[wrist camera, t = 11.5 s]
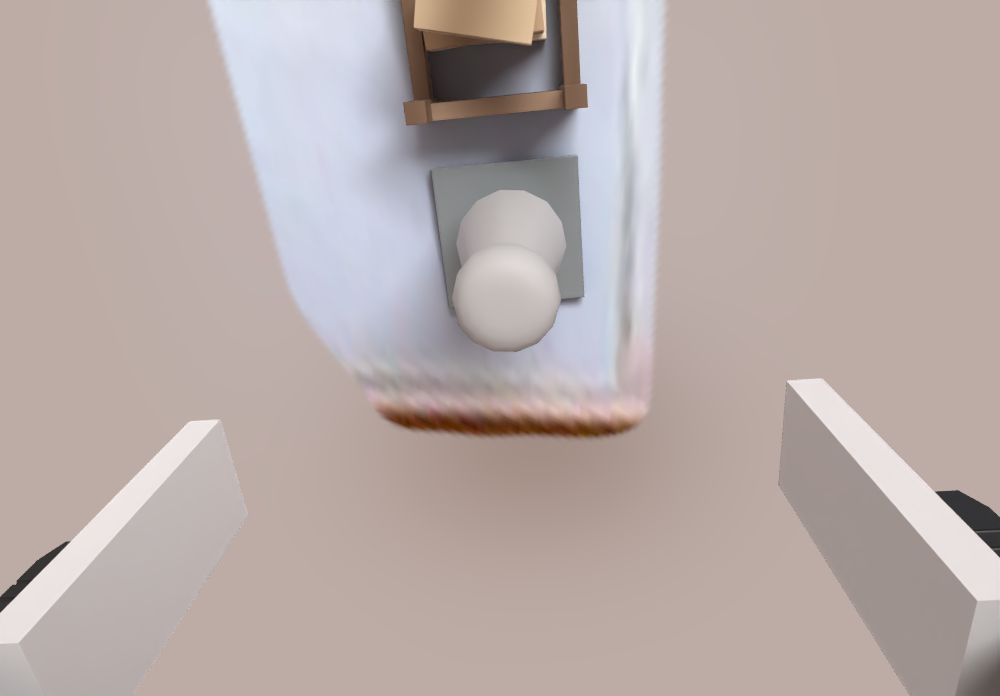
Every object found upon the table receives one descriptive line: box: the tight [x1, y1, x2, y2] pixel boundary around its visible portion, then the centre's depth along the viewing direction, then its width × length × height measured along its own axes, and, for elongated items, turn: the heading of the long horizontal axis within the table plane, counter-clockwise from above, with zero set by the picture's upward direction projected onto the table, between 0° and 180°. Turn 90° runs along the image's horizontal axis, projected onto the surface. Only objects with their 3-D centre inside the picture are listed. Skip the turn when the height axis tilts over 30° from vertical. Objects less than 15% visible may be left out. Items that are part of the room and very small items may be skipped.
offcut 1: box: [414, 0, 537, 46], centre depth 29 cm, size 5×2×2 cm, turn 83°
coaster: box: [431, 155, 584, 308], centre depth 37 cm, size 8×8×1 cm
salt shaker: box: [452, 190, 566, 352], centre depth 31 cm, size 6×6×13 cm
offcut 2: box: [423, 0, 545, 52], centre depth 31 cm, size 6×2×2 cm, turn 99°
